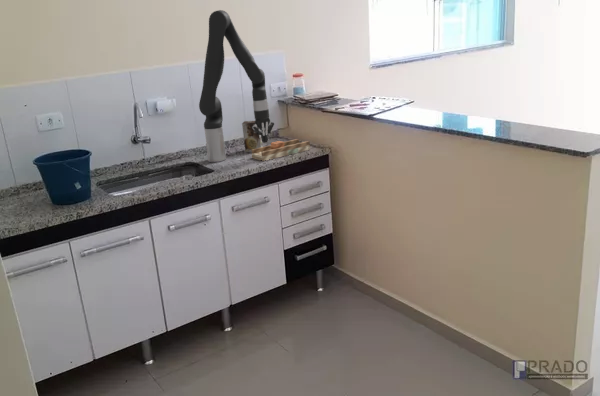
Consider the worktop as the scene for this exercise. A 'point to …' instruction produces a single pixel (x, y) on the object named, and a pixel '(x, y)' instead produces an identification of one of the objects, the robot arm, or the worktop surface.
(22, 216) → the worktop surface
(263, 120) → the robot arm
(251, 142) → the coffee box
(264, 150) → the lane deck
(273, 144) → the block
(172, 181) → the worktop surface
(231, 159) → the worktop surface
